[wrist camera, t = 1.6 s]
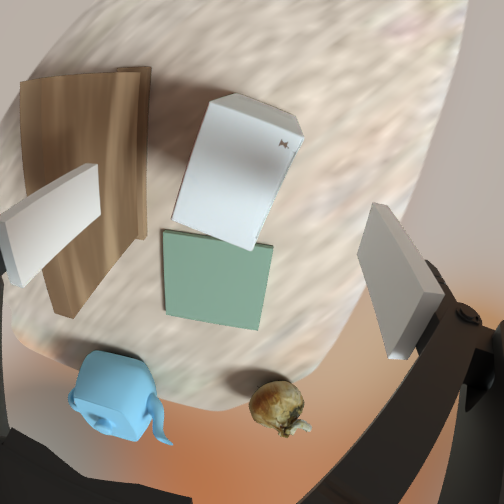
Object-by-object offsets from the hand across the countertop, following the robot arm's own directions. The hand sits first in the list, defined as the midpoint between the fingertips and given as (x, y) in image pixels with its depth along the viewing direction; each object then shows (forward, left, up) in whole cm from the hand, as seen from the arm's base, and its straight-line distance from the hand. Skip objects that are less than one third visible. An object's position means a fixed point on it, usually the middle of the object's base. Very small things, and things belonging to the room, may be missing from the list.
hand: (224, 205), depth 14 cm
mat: (-2, -15, -14) cm, 21 cm away
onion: (+8, -32, -15) cm, 36 cm away
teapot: (-14, -36, -15) cm, 41 cm away
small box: (0, 0, -15) cm, 15 cm away
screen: (-11, -2, -14) cm, 18 cm away
